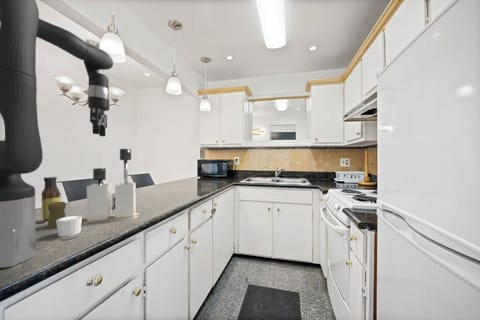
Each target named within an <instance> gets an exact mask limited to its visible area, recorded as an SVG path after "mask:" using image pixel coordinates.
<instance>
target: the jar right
mask: <svg viewBox="0 0 480 320" xmlns="http://www.w3.org/2000/svg"><path fill="white" fill-rule="evenodd" d="M136 187H137V186H136V182H128V184H127V185H124V182H120V183H119V182H118V183H117V184H115V185H114V195H115V208H114V210H115V212H114V215H115V219H124V218H133V217H134V216H135V214H136V212H137V209H136V208H137V206H136V205H137V204H136V202H137V200H136V198H137V197H136V196H137V195H136V192H137V191H136V189H137V188H136Z"/></svg>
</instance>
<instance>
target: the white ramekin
mask: <svg viewBox="0 0 480 320" xmlns="http://www.w3.org/2000/svg"><path fill="white" fill-rule="evenodd" d="M82 221H83V216H82V215H68V216H65V217H63V218H60V219H57V220H56V223H57V228H56V229H57V235H58V237H59V238H60V239H58V240H59V242H64V241H65V242H66V241H72V240H75V239H77V238H79V236H75V237H72V236H74V235H78V234H79V233H81V230H82V229H81V228H82V223H83V222H82ZM70 236H71V237H70ZM61 237H63V238H61ZM64 237H66V238H64ZM67 237H68V238H67Z"/></svg>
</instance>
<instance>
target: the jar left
mask: <svg viewBox="0 0 480 320" xmlns="http://www.w3.org/2000/svg"><path fill="white" fill-rule="evenodd" d="M111 215H112V183H102V186H98V183H96V184H93V183H92V184H90V185H87V186H86V216H87V217H86V220H87V222H96V221H105V220H108V219H109V218H110V217H111Z"/></svg>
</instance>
